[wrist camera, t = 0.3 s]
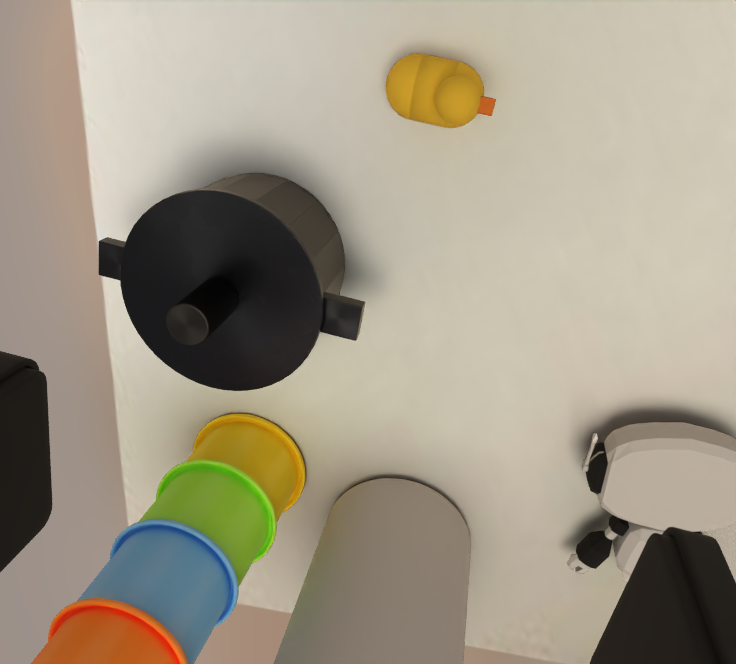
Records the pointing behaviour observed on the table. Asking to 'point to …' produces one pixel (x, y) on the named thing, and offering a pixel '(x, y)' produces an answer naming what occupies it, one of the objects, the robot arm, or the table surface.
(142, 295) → the pan lid
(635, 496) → the robot toy
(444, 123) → the duck
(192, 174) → the table surface
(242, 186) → the pan
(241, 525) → the stacking cups
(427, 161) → the table surface
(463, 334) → the table surface
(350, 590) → the cylinder vase
